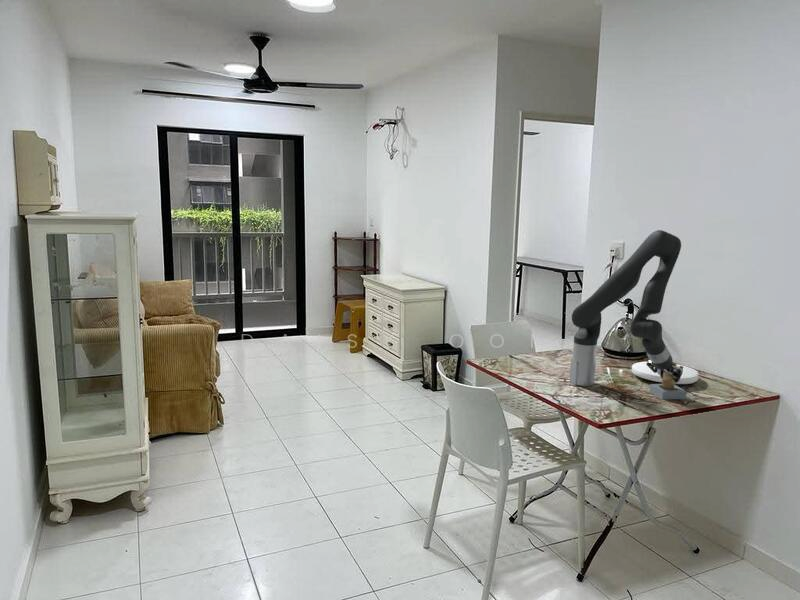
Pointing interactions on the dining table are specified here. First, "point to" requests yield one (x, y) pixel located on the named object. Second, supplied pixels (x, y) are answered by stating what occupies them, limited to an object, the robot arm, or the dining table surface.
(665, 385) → the dowel
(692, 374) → the plate
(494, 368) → the dining table surface
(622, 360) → the dining table surface
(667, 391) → the socket block
